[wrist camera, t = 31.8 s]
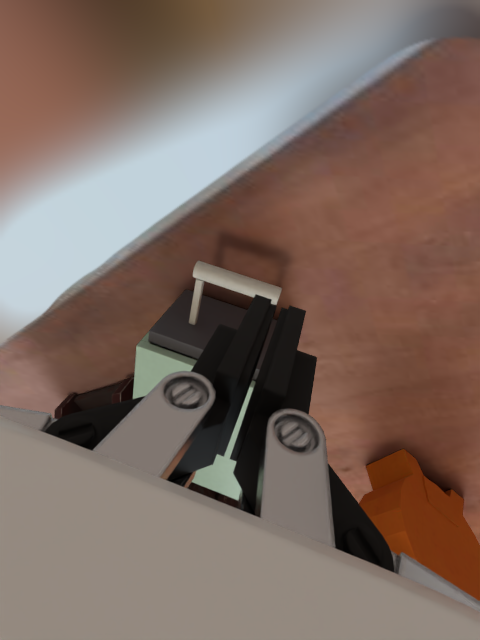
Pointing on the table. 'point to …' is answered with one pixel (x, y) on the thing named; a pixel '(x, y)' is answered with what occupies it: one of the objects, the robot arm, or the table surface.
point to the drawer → (208, 312)
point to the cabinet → (162, 362)
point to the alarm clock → (422, 520)
